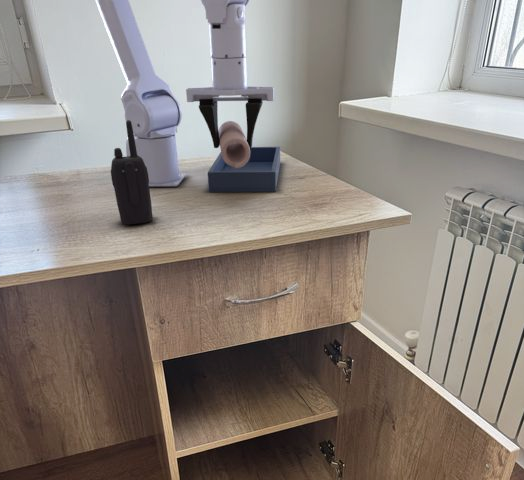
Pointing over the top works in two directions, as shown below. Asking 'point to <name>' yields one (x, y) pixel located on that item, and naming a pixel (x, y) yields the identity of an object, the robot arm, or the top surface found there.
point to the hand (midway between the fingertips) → (233, 146)
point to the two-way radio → (131, 184)
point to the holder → (247, 172)
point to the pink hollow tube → (233, 144)
